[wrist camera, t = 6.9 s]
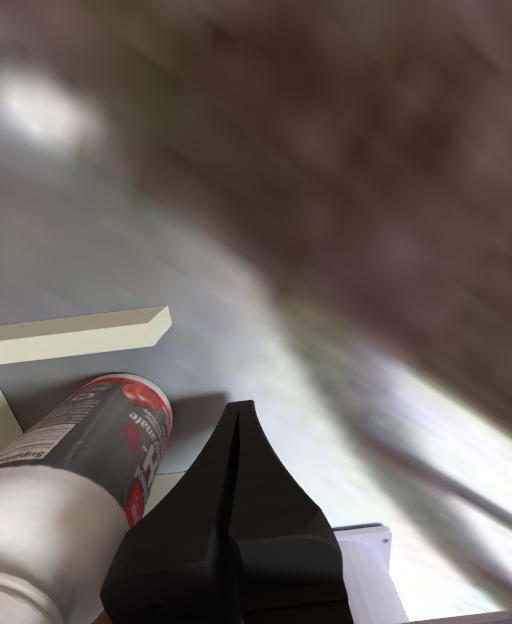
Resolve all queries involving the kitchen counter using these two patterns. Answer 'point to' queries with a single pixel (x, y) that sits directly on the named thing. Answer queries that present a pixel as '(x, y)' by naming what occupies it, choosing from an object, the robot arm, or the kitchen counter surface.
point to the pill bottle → (76, 497)
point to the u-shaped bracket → (76, 341)
